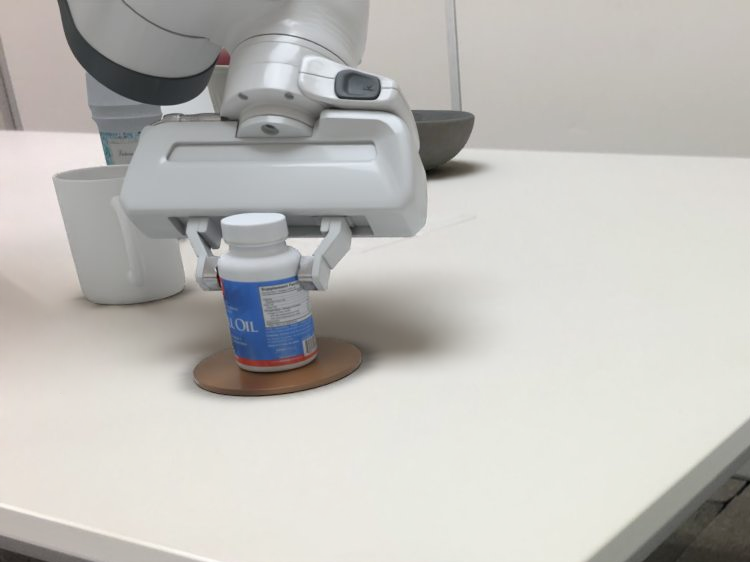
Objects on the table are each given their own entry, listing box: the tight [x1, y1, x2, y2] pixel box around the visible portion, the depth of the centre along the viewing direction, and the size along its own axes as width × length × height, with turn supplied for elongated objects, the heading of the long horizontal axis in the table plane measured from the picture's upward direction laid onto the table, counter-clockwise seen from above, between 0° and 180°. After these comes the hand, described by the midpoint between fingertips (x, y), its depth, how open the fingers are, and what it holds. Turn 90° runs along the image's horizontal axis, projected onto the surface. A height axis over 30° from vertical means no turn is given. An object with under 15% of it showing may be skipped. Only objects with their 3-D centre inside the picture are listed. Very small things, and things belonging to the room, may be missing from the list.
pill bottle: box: [218, 213, 317, 372], centre depth 67 cm, size 6×5×10 cm
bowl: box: [411, 109, 476, 171], centre depth 144 cm, size 21×21×8 cm
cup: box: [51, 165, 186, 305], centre depth 84 cm, size 8×12×10 cm
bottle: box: [84, 70, 163, 166], centre depth 104 cm, size 7×7×20 cm
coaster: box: [192, 336, 362, 397], centre depth 70 cm, size 11×11×1 cm
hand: (262, 286), depth 67 cm, fingers closed on pill bottle, 5 cm apart
